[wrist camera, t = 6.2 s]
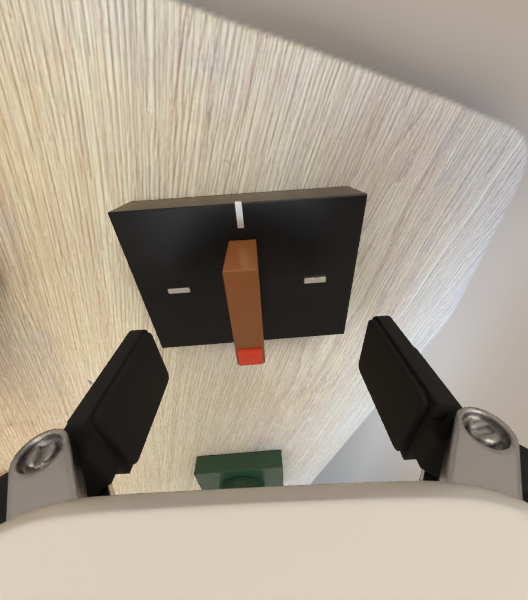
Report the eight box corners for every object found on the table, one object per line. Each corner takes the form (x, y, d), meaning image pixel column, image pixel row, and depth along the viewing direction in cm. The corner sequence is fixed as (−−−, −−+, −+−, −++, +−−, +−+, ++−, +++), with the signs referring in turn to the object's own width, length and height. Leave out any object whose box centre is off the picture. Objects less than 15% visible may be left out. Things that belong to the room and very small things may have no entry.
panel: (348, 184, 15) (369, 192, 13) (332, 312, 21) (344, 336, 18) (129, 199, 15) (104, 211, 12) (173, 324, 21) (161, 350, 18)
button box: (280, 449, 34) (284, 483, 30) (281, 479, 39) (284, 510, 36) (196, 456, 34) (191, 490, 30) (209, 485, 39) (206, 516, 36)
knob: (228, 240, 14) (221, 273, 10) (256, 238, 14) (258, 271, 10) (240, 322, 17) (237, 368, 13) (262, 320, 17) (265, 366, 13)
